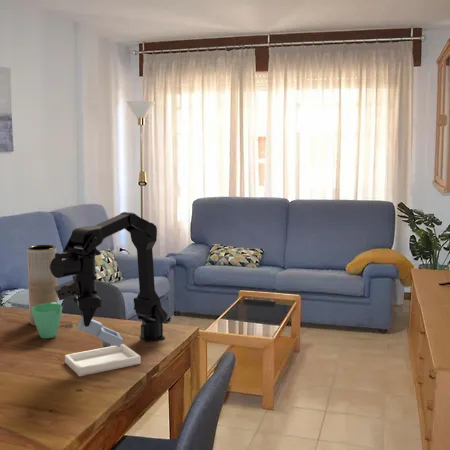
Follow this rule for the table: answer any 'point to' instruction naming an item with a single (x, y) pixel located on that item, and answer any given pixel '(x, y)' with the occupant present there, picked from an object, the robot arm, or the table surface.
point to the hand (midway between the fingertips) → (85, 324)
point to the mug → (47, 319)
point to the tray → (102, 360)
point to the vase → (41, 276)
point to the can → (106, 344)
